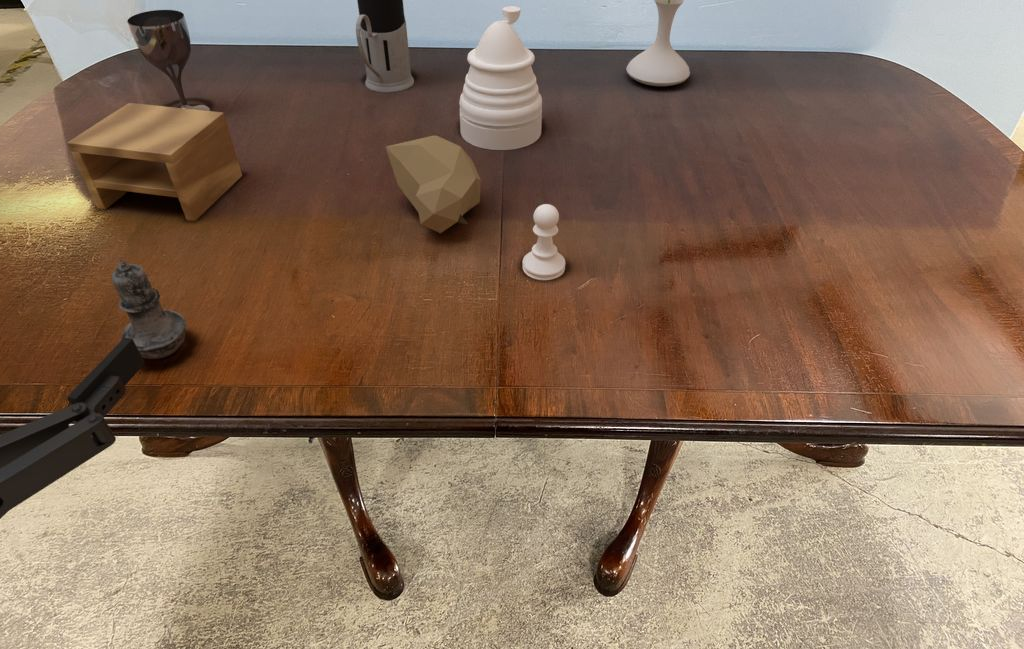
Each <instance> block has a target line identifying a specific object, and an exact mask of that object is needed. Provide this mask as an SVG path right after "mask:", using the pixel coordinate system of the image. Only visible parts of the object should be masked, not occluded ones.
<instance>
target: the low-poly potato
mask: <svg viewBox="0 0 1024 649" xmlns="http://www.w3.org/2000/svg"><path fill="white" fill-rule="evenodd" d="M385 149H386V152H387V156H388V159H389V162H390V165H391V170H392V172H393V175H394V178H395V182H396V185H397V186H398V187H399V188H400V190H401V191H402V193H403V194H404V195H405V197H406V198H407V199H408V201H409V202H410V204H411V205H412V206H413V207H414V209H415V210H416V212H417V213H418V217H419V224H420V225H421V226H423V227H425V228H427V229H430V230H431V231H435V232H437V233H439V234H442V233H443V232H445V231H446V230H448V229H449V228H451V227H452V226H454V225H455V224H462V225H469V223H468V222H467V221H466V219H465V218H464V217H463V216H464V215H465V214H467V213H468V212H469V211H470V210H472V209H473V208H475V207H476V206H477V205H478V204H480V203H481V189H482V188H481V186H482V180H481V177H480V175H479V172H478V170H477V168H476V165H475V163H474V162H473V159H472V158H471V157H470V156H469V155H468V153H467V152H466V150H464V149H463V147H462V146H461V145H459V144H456V143H454V142H452V141H450V140H447V139H445V138H442V137H441V136H438V135H436V134H434V135H429V136H426V137H425V136H424V137H421V138H417V139H412V140H409V141H403V142H399V143H395V144H391V145H387V146H385Z"/></svg>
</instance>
